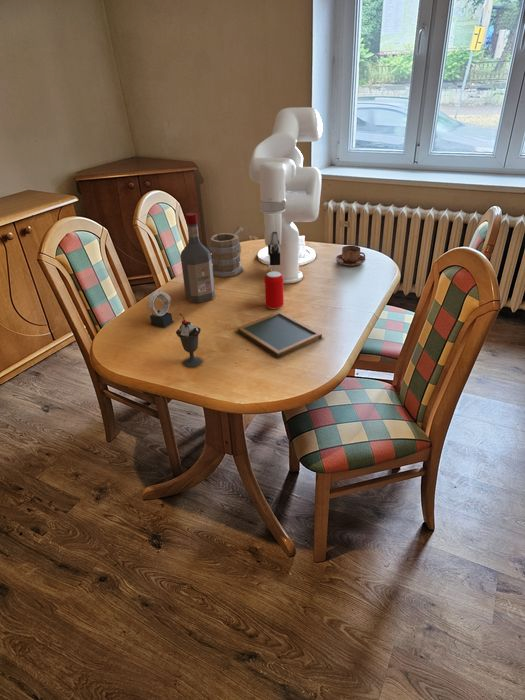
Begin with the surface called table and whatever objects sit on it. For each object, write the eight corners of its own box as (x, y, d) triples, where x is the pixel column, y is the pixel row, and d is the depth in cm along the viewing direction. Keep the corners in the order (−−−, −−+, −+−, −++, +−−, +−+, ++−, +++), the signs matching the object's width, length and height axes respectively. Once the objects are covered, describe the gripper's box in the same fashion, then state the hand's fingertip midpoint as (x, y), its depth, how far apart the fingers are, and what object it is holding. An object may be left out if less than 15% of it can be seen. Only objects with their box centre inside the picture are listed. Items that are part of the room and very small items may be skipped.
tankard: (229, 279, 179) (227, 241, 171) (204, 273, 185) (200, 237, 177) (257, 262, 193) (255, 227, 185) (233, 257, 199) (230, 223, 191)
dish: (275, 271, 184) (275, 244, 178) (248, 253, 203) (247, 228, 197) (326, 259, 194) (327, 233, 188) (296, 243, 213) (296, 218, 207)
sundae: (181, 356, 132) (174, 310, 124) (204, 355, 132) (199, 308, 124) (179, 369, 126) (172, 321, 118) (204, 367, 127) (198, 320, 119)
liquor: (217, 298, 165) (209, 214, 149) (194, 305, 161) (183, 219, 145) (206, 289, 171) (197, 208, 155) (183, 295, 167) (172, 213, 151)
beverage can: (266, 302, 160) (265, 270, 154) (284, 302, 160) (283, 270, 153) (264, 310, 155) (263, 277, 149) (283, 310, 155) (282, 277, 148)
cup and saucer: (365, 258, 193) (366, 244, 190) (364, 269, 183) (365, 254, 180) (337, 257, 196) (337, 243, 192) (334, 267, 186) (335, 252, 183)
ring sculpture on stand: (176, 319, 152) (172, 288, 146) (160, 330, 146) (155, 298, 140) (163, 316, 154) (158, 285, 148) (147, 326, 148) (141, 295, 143)
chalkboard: (237, 332, 143) (237, 327, 142) (279, 315, 152) (279, 311, 151) (278, 358, 130) (278, 353, 129) (321, 338, 138) (321, 333, 137)
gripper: (259, 199, 147) (261, 251, 156) (262, 213, 132) (263, 269, 141) (282, 198, 147) (283, 250, 156) (288, 212, 132) (288, 268, 141)
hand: (273, 259), depth 148 cm, fingers open, 9 cm apart
